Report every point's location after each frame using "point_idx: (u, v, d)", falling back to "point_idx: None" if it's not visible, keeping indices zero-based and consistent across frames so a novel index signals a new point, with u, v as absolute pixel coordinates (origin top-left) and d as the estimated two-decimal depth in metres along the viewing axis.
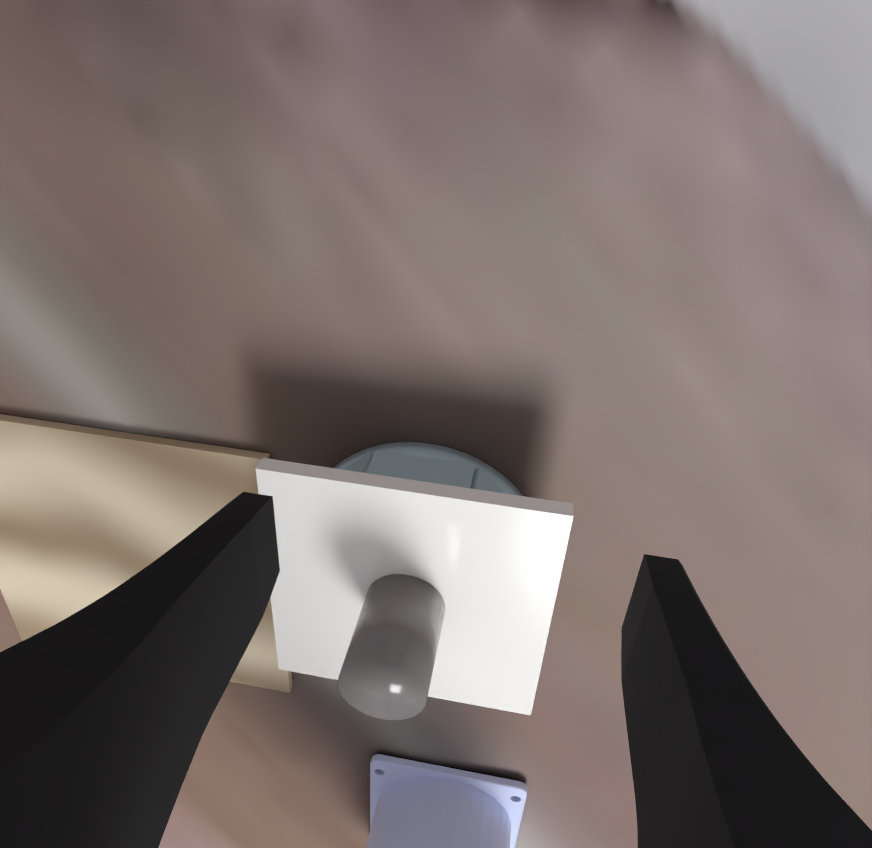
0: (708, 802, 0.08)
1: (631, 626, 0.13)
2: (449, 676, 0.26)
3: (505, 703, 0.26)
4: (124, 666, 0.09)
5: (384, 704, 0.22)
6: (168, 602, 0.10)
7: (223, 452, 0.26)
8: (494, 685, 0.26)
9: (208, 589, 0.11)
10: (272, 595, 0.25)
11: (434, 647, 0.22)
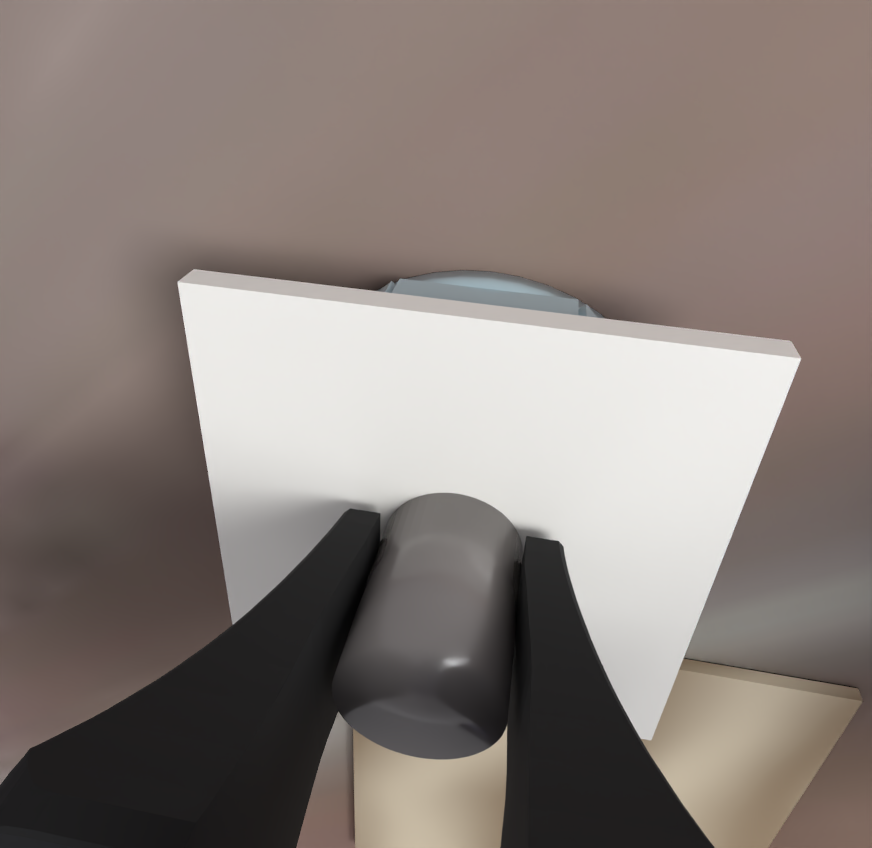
0: (525, 766, 0.08)
1: None
2: (655, 507, 0.12)
3: (751, 410, 0.11)
4: (280, 696, 0.09)
5: (456, 709, 0.11)
6: (306, 627, 0.10)
7: None
8: (682, 429, 0.11)
9: (335, 611, 0.11)
10: None
11: (417, 565, 0.12)
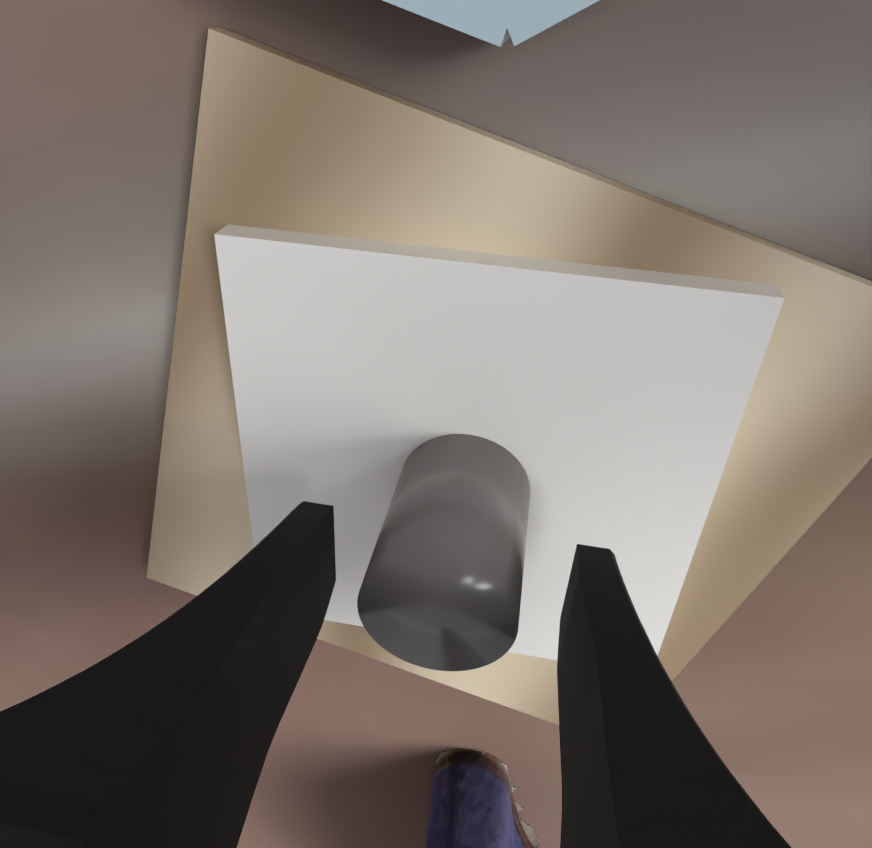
0: (604, 781, 0.08)
1: (565, 615, 0.13)
2: (652, 444, 0.13)
3: (740, 349, 0.12)
4: (212, 683, 0.09)
5: (470, 619, 0.12)
6: (246, 616, 0.10)
7: (198, 130, 0.12)
8: (677, 367, 0.13)
9: (280, 601, 0.11)
10: None
11: (435, 493, 0.13)
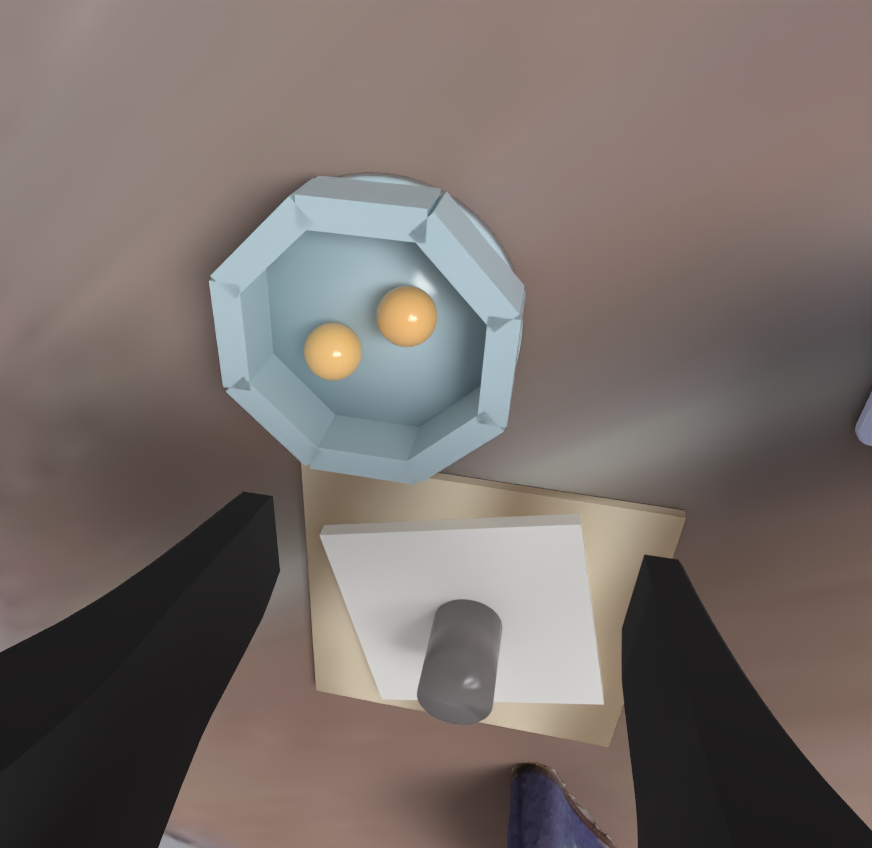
0: (707, 801, 0.08)
1: (631, 626, 0.13)
2: (550, 590, 0.26)
3: (571, 546, 0.25)
4: (124, 666, 0.09)
5: (469, 698, 0.25)
6: (168, 602, 0.10)
7: (303, 492, 0.27)
8: (546, 557, 0.26)
9: (208, 589, 0.11)
10: (505, 700, 0.31)
11: (444, 638, 0.26)
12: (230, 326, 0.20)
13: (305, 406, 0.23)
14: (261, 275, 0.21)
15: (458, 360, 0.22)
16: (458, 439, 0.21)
